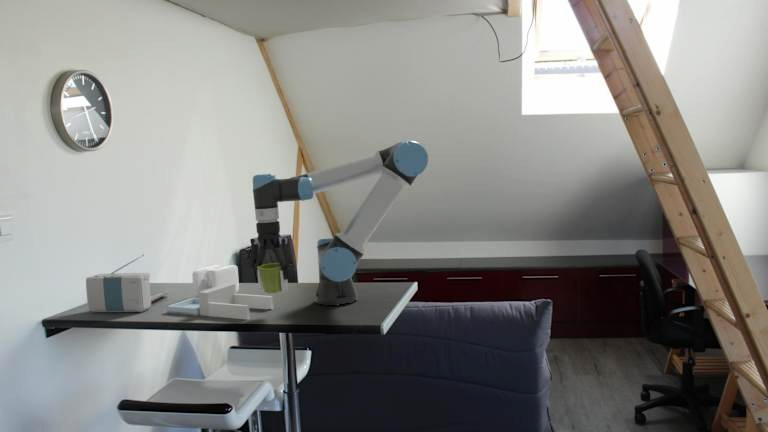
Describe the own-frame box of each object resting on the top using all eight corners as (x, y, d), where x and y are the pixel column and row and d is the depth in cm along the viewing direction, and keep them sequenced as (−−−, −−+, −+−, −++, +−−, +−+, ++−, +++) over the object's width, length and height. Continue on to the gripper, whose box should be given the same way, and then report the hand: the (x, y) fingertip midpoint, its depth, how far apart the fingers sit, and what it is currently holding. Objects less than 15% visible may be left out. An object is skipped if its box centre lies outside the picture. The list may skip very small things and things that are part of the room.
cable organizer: (215, 302, 219) (212, 271, 218) (192, 300, 223) (190, 270, 222) (239, 293, 233) (238, 264, 232) (218, 291, 237) (216, 263, 236)
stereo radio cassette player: (87, 314, 209) (82, 258, 207) (101, 308, 217) (96, 254, 215) (142, 313, 206) (137, 257, 204) (154, 308, 214) (150, 253, 212)
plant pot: (285, 293, 190) (283, 267, 190) (256, 295, 190) (254, 269, 190) (290, 287, 200) (288, 262, 199) (262, 289, 200) (260, 264, 199)
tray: (223, 306, 211) (222, 299, 211) (196, 315, 199) (196, 308, 199) (194, 304, 217) (194, 297, 217) (167, 313, 205) (166, 306, 205)
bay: (273, 308, 204) (272, 286, 204) (247, 319, 191) (245, 295, 191) (227, 305, 213) (226, 283, 212) (200, 315, 200) (198, 292, 199)
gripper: (234, 223, 194) (240, 290, 196) (288, 221, 185) (294, 292, 187) (248, 220, 201) (254, 285, 203) (301, 219, 192) (306, 287, 194)
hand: (273, 288), depth 195 cm, fingers closed on plant pot, 8 cm apart
